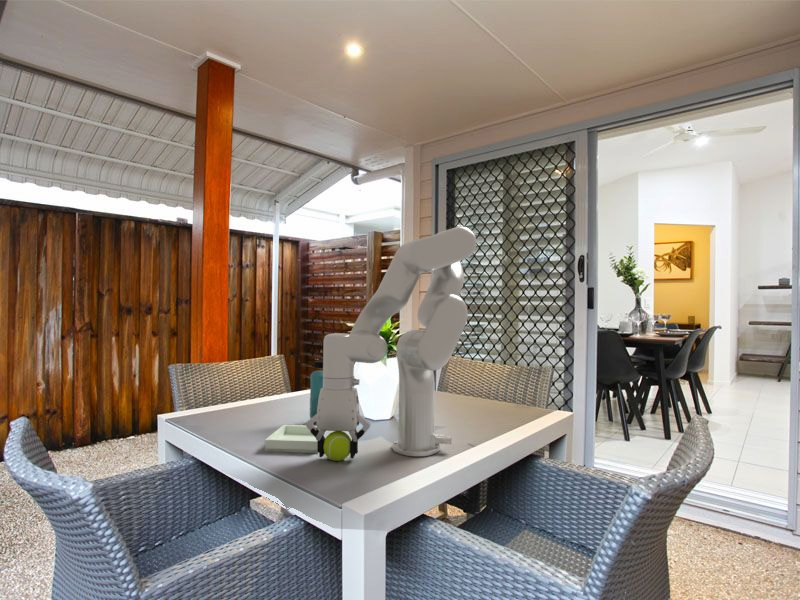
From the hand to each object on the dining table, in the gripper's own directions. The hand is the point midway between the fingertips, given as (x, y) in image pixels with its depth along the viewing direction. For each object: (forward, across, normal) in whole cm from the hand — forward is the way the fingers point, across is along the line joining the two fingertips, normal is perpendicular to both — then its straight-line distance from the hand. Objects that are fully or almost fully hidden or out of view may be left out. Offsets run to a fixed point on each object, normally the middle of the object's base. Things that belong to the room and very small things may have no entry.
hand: (337, 455), depth 106 cm
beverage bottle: (+1, +13, -32) cm, 35 cm away
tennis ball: (+1, 0, 0) cm, 1 cm away
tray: (+1, +13, -11) cm, 17 cm away
